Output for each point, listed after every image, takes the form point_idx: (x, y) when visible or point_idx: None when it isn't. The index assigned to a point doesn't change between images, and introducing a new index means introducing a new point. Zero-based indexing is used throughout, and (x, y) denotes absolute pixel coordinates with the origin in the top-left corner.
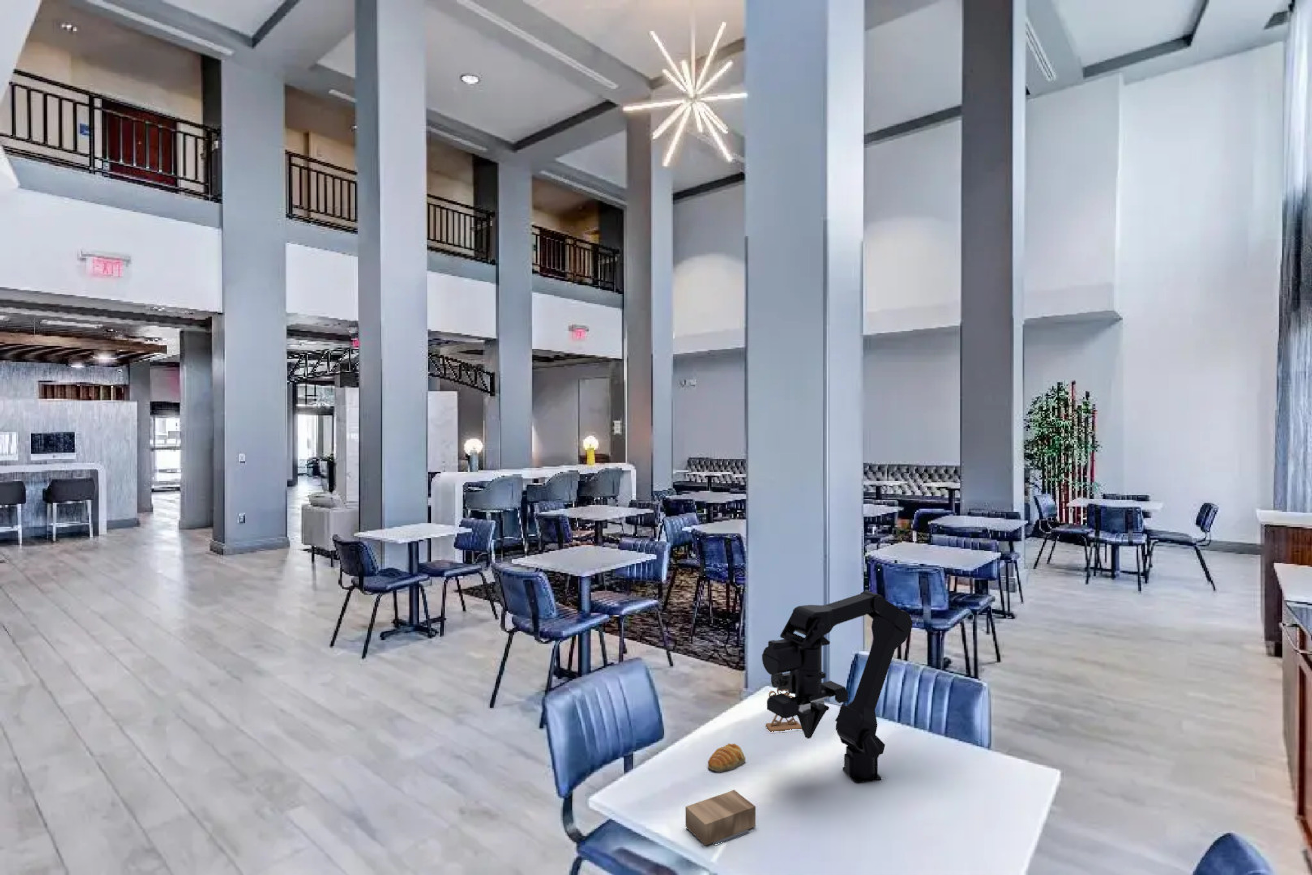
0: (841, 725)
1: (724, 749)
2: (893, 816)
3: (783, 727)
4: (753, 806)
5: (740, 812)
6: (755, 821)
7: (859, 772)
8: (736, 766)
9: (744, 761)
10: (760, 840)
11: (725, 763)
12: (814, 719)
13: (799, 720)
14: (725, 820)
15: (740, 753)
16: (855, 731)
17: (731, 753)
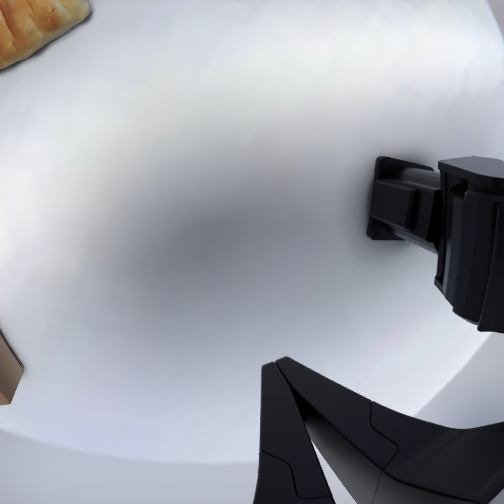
0: (489, 234)
1: (10, 1)
2: (345, 366)
3: None
4: (6, 401)
5: None
6: (20, 378)
7: (396, 231)
8: (47, 42)
9: (83, 19)
10: (35, 399)
11: None
12: (356, 498)
13: (258, 471)
14: None
15: (63, 6)
16: (479, 330)
17: (18, 24)
